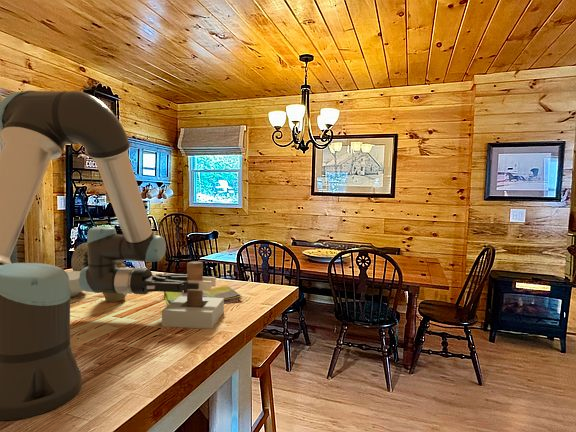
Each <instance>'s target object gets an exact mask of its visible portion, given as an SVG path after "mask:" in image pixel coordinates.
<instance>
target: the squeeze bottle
mask: <svg viewBox="0 0 576 432" xmlns="http://www.w3.org/2000/svg"><path fill="white" fill-rule="evenodd" d="M116 261H117V264H116V267H118V268H127V266H126V264H125V263H123V262H124V260H116ZM102 294H103V297H104V299H105V301H106V302H108V303H115V302H116V303H117V302H121V301H124V300H125V299H126V296H127V295H124V293H102Z"/></svg>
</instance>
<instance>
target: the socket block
mask: <svg viewBox="0 0 576 432" xmlns="http://www.w3.org/2000/svg"><path fill="white" fill-rule="evenodd" d="M224 305H225V304H224V298H210V297H203V303H202V308H197V307H187V297H185V296H179V297H178V298H177V299H176V300H174V301H173V302H172V303H171V304H169V305H167V306H165V307H164V308H163V309H162V310H161V327H165V328H166V327H168V328H173V327H174V328H191V329H192V328H193V329H211V330H212V329H213V328H214V327H215V325H216V324H217V323H218V321H219V320H220V319H221V317H222V316H223V315H224V311H225V310H224V308H225V306H224Z"/></svg>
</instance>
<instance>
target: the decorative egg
mask: <svg viewBox="0 0 576 432" xmlns="http://www.w3.org/2000/svg"><path fill="white" fill-rule="evenodd" d="M70 262H71V265H70V266H71V269H72V271H81V270H82V269H83V268H85V267H88V247H87V242H83V243H81V244H79V245H78V246H77V247H76V248H75V249H74V251H73V253H72V255H71V261H70Z"/></svg>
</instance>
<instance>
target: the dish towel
mask: <svg viewBox="0 0 576 432" xmlns="http://www.w3.org/2000/svg"><path fill="white" fill-rule="evenodd" d="M163 295H164V299H165V303H166V305H167V306H168V305H169V304H171V303H172V302H173V301H174V300H176V299H177V298H178V297H179V296H185V297H187V293H184V291H183V292H163ZM203 297H210V298H224V305H225V304H226V305H227V304H233V303H238V302H239V300H242V298H243V295H241V294H239V293H238V292H237V291H236V290H234V289H232V287H230V286H228V285H224V286H219V287H215V288H214V287H213V288H211V291H203Z"/></svg>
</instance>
